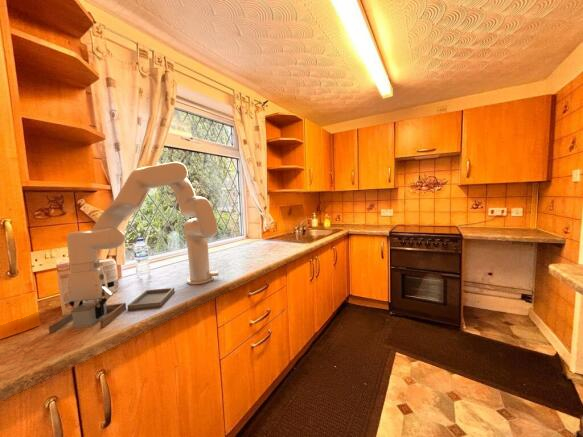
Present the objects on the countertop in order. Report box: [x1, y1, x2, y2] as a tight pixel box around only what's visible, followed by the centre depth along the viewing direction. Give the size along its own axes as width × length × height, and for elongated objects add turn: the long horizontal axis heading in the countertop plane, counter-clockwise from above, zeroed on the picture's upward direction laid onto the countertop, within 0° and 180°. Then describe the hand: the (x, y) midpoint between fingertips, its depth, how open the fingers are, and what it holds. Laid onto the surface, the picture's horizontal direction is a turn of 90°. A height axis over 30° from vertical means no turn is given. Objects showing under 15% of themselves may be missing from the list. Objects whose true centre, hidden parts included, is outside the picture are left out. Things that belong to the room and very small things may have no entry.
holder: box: [48, 302, 127, 335], centre depth 83 cm, size 16×14×2 cm
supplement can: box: [98, 258, 120, 294], centre depth 110 cm, size 8×8×15 cm
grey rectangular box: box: [71, 300, 108, 329], centre depth 83 cm, size 5×9×6 cm, turn 9°
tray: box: [126, 287, 175, 312], centre depth 98 cm, size 12×16×2 cm
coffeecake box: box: [55, 256, 87, 317], centre depth 94 cm, size 15×7×20 cm, turn 45°
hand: (91, 317), depth 83 cm, fingers closed on grey rectangular box, 5 cm apart
